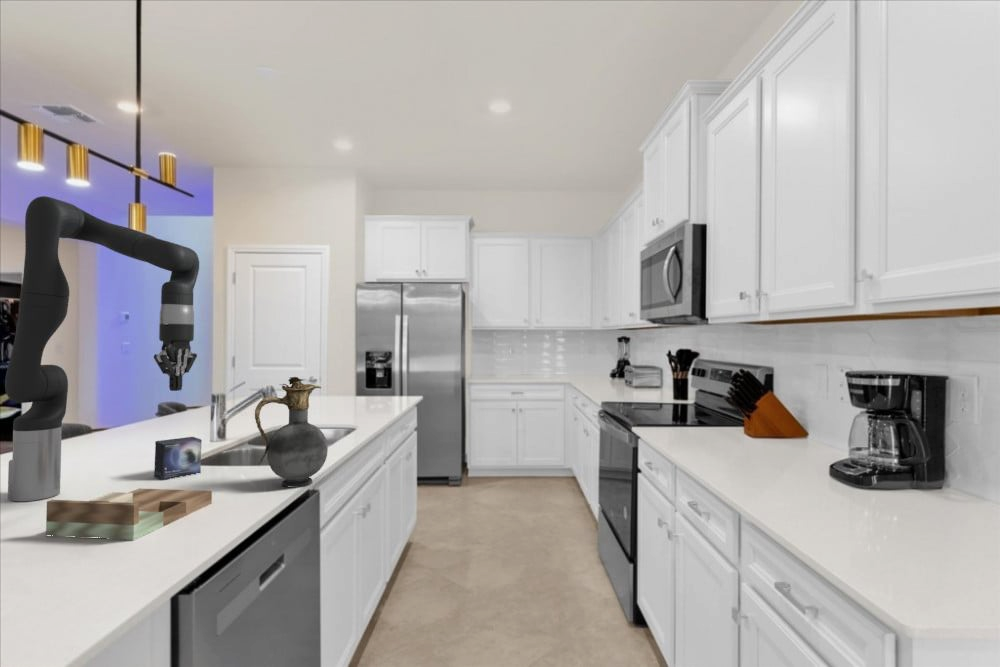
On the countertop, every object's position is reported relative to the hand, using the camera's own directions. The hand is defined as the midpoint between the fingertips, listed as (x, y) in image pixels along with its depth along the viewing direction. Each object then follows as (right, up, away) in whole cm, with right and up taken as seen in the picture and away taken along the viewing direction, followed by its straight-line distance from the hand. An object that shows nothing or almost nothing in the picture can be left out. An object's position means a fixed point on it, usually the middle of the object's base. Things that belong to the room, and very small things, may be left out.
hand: (175, 390), depth 133 cm
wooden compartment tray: (+2, -27, -17) cm, 32 cm away
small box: (-12, -28, +21) cm, 37 cm away
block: (+2, -24, -24) cm, 34 cm away
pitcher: (+25, -28, +11) cm, 39 cm away
